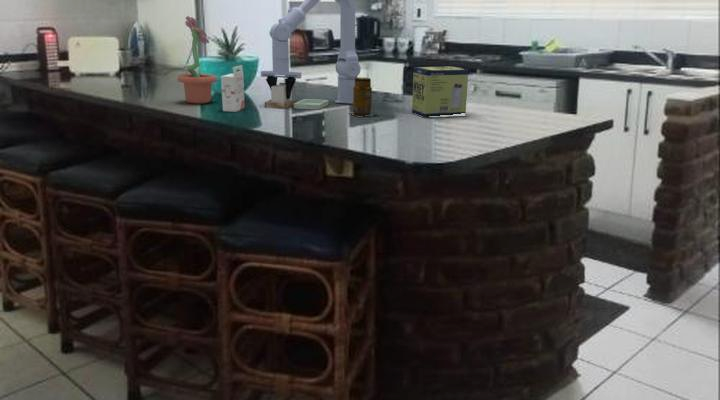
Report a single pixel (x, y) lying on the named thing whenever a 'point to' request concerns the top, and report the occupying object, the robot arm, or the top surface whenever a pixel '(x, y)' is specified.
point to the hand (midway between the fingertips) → (281, 98)
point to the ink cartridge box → (233, 90)
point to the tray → (311, 104)
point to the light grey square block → (279, 93)
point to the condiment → (362, 97)
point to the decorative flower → (195, 83)
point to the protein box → (439, 91)
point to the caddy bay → (280, 104)
